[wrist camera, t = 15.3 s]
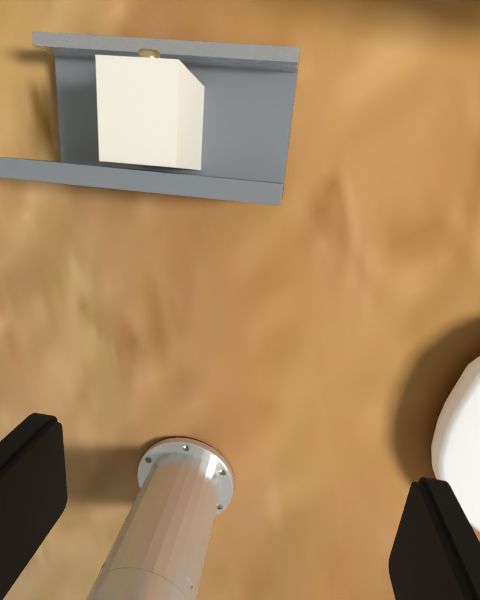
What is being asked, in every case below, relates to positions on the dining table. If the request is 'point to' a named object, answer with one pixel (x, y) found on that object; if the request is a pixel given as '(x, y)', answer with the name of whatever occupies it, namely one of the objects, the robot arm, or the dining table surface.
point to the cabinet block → (149, 111)
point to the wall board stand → (216, 119)
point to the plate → (461, 442)
